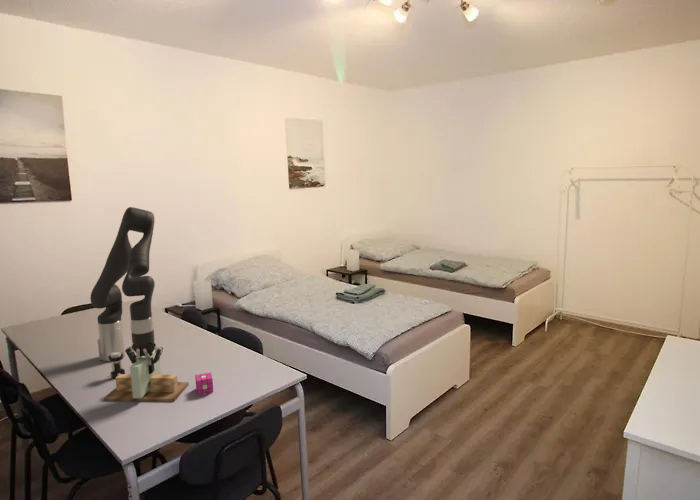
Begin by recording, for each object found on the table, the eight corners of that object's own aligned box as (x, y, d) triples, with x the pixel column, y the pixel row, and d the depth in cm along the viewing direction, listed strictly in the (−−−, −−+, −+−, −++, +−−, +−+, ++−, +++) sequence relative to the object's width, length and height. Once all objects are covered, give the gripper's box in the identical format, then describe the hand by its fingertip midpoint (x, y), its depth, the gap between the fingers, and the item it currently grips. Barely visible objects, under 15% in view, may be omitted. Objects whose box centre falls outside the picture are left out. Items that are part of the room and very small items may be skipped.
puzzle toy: (197, 395, 163) (196, 381, 162) (196, 388, 168) (195, 374, 167) (213, 392, 165) (212, 378, 164) (211, 385, 171) (210, 372, 170)
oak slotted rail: (104, 400, 159) (102, 383, 158) (123, 383, 172) (121, 368, 171) (174, 401, 159) (173, 384, 158) (188, 384, 171) (187, 369, 170)
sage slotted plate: (153, 377, 173) (151, 349, 171) (161, 377, 173) (158, 349, 171) (132, 398, 157) (129, 366, 155) (141, 398, 157) (138, 366, 155)
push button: (110, 382, 174) (108, 358, 172) (104, 378, 177) (102, 355, 175) (127, 376, 179) (125, 352, 177) (121, 372, 182) (118, 349, 180)
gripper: (165, 326, 165) (169, 369, 168) (129, 325, 165) (133, 368, 168) (156, 333, 157) (160, 378, 160) (118, 332, 158) (122, 377, 161)
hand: (146, 373), depth 164 cm, fingers closed on sage slotted plate, 3 cm apart
